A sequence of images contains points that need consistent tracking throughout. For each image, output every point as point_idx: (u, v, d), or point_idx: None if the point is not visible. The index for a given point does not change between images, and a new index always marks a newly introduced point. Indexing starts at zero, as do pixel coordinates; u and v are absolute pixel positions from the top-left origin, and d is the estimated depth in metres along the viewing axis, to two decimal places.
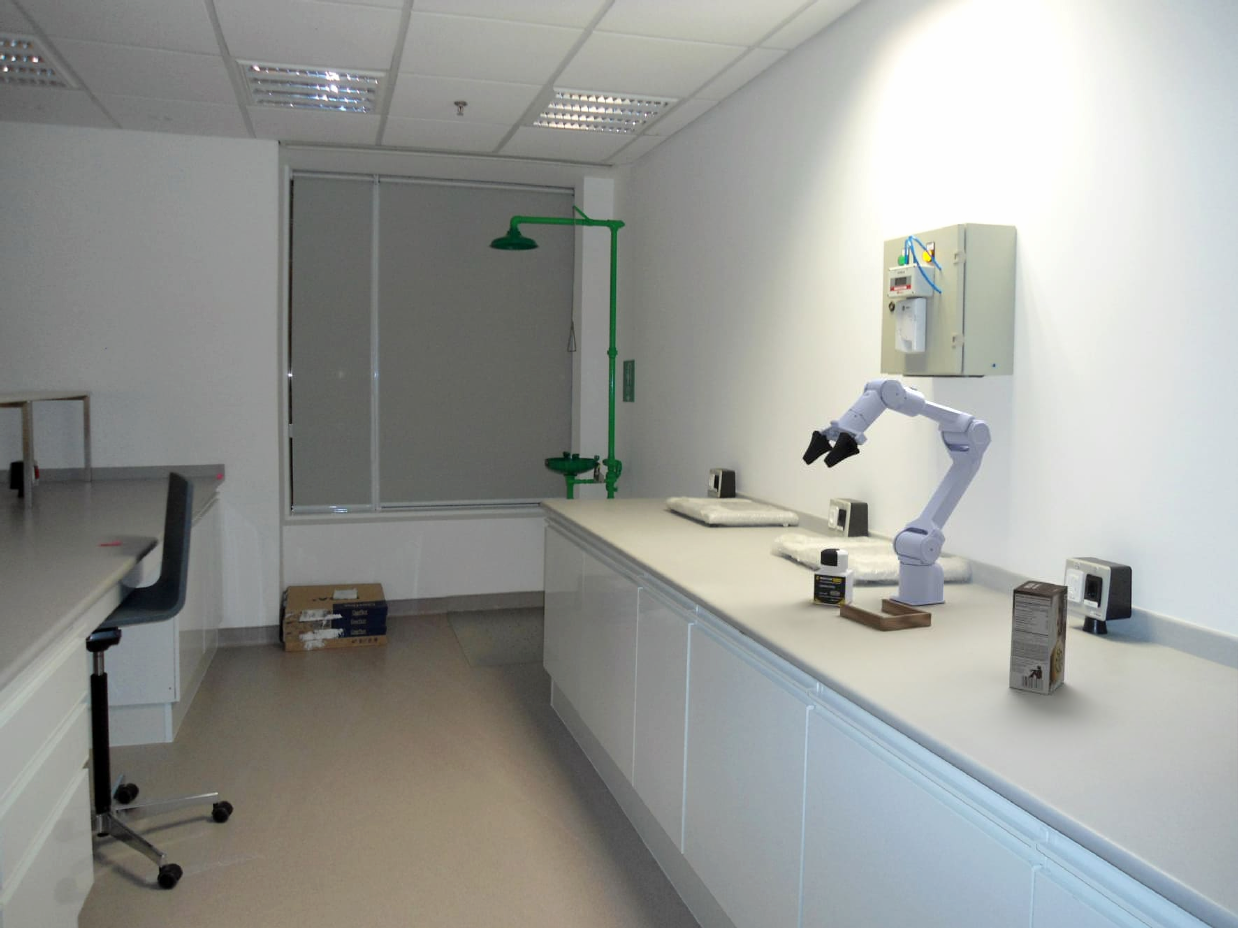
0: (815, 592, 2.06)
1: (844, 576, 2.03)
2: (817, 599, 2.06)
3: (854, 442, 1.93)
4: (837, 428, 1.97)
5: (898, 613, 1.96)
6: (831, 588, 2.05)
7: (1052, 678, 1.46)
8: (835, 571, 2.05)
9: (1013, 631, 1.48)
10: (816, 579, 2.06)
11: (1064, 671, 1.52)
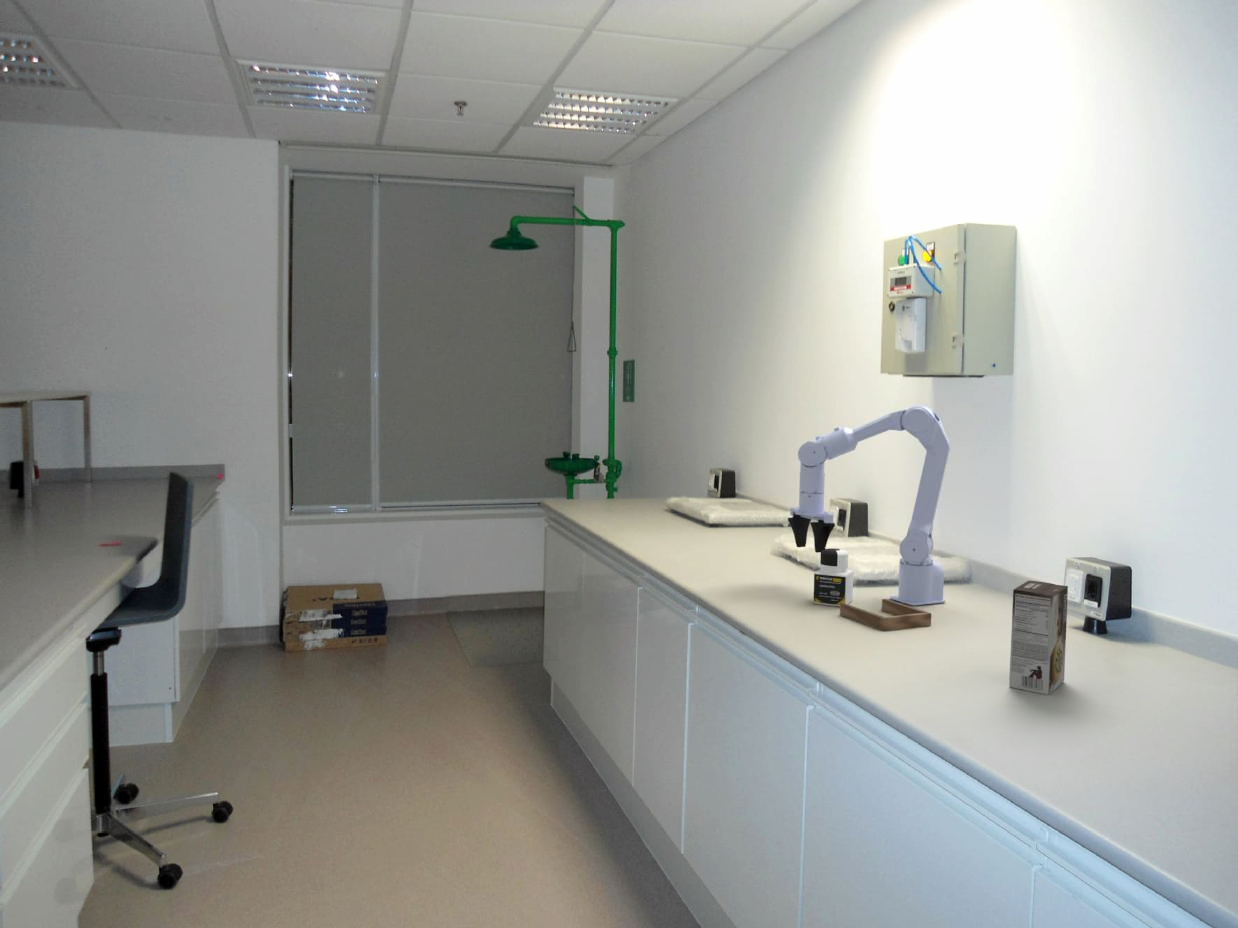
0: (815, 592, 2.06)
1: (844, 576, 2.03)
2: (817, 599, 2.06)
3: (826, 524, 2.13)
4: (804, 515, 2.17)
5: (898, 613, 1.96)
6: (831, 588, 2.05)
7: (1052, 678, 1.46)
8: (835, 571, 2.05)
9: (1013, 631, 1.48)
10: (816, 579, 2.06)
11: (1064, 671, 1.52)
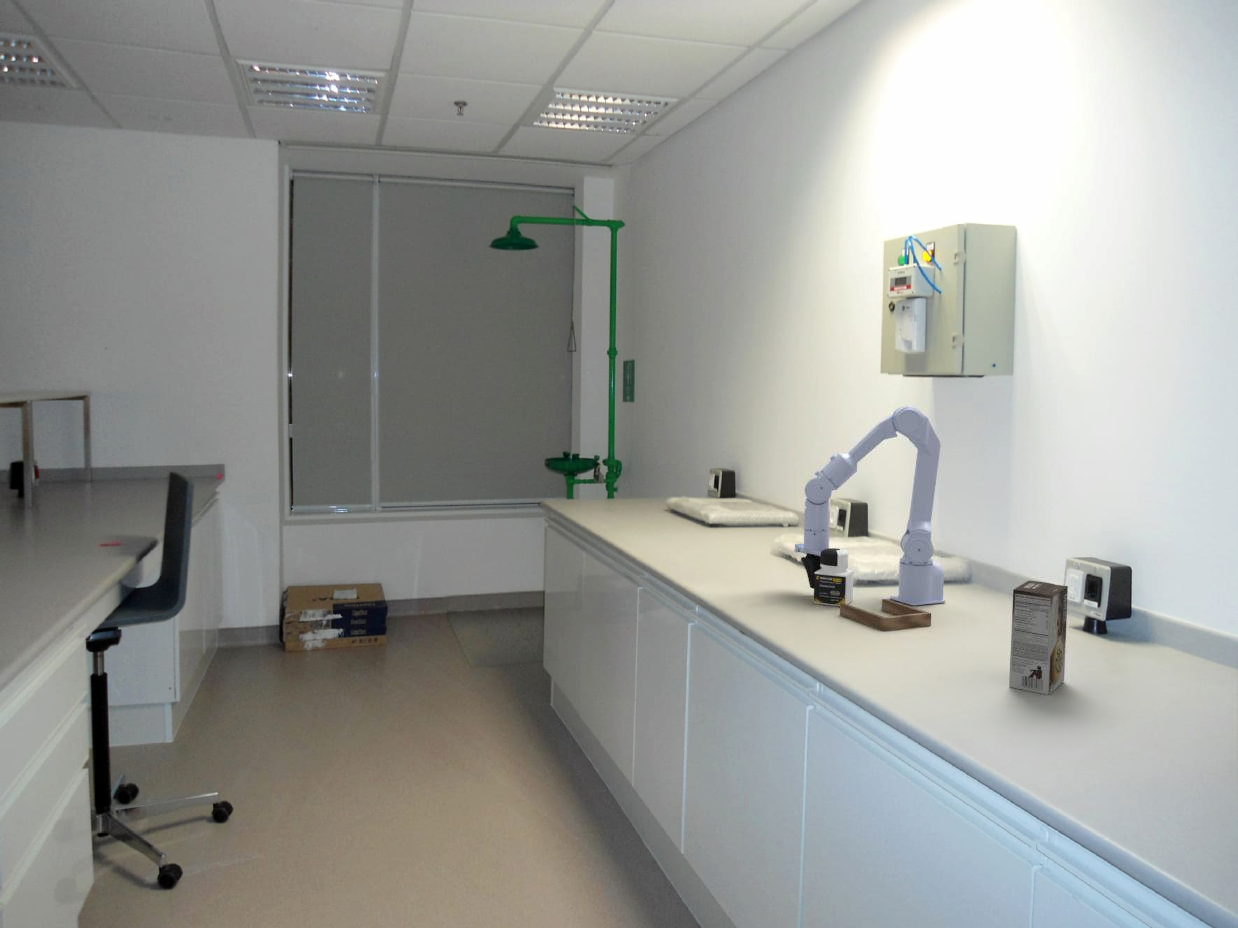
0: (815, 592, 2.06)
1: (844, 576, 2.03)
2: (817, 599, 2.06)
3: None
4: (809, 552, 2.12)
5: (898, 613, 1.96)
6: (831, 588, 2.05)
7: (1052, 678, 1.46)
8: (835, 571, 2.05)
9: (1013, 631, 1.48)
10: (816, 579, 2.06)
11: (1064, 670, 1.52)
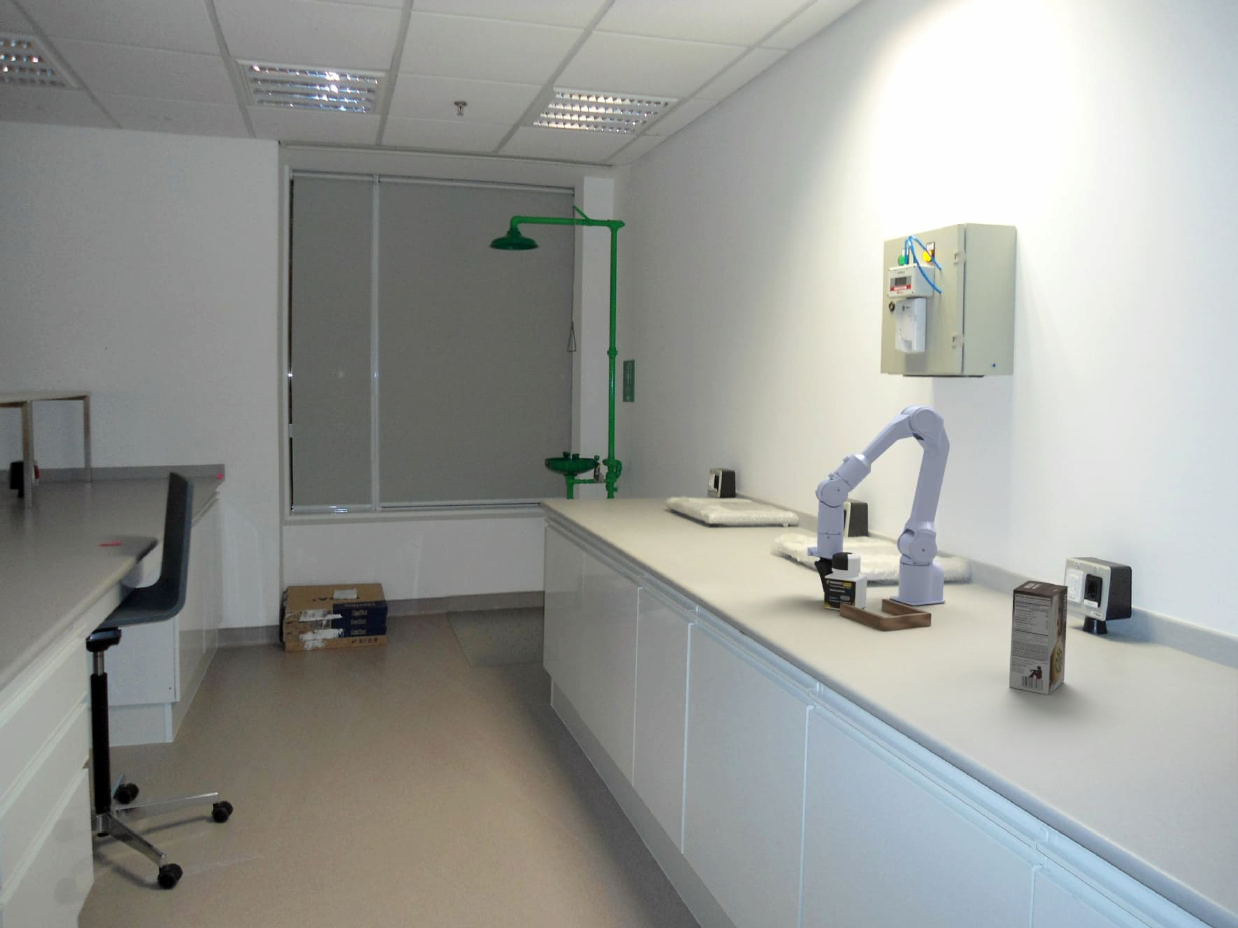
0: (825, 596, 2.02)
1: (854, 581, 1.98)
2: (827, 604, 2.02)
3: None
4: (822, 556, 2.08)
5: (898, 613, 1.96)
6: (841, 593, 2.00)
7: (1052, 678, 1.46)
8: (846, 575, 2.00)
9: (1013, 631, 1.48)
10: (826, 583, 2.02)
11: (1064, 670, 1.52)
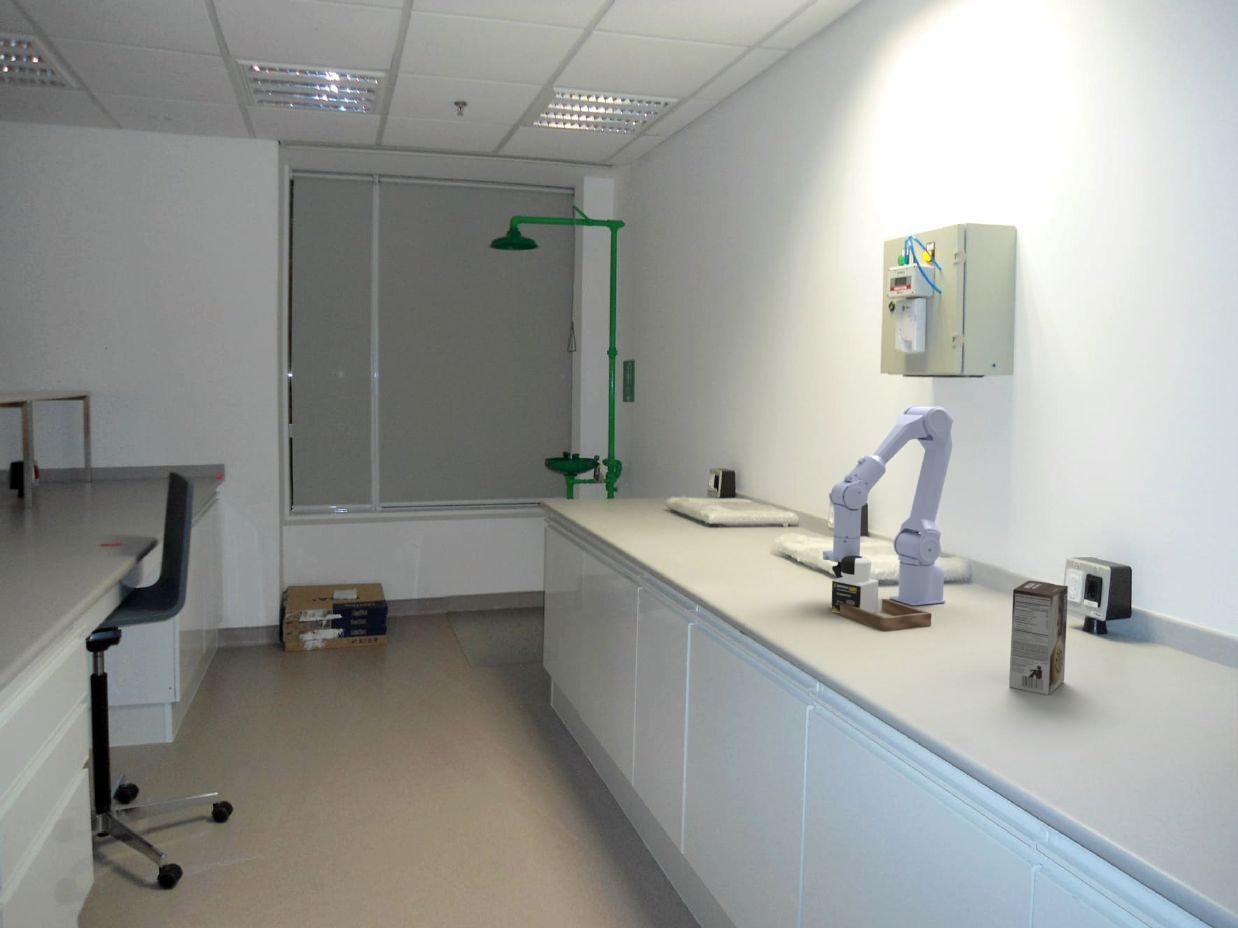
0: (832, 600, 1.99)
1: (859, 585, 1.94)
2: (834, 608, 1.98)
3: None
4: (839, 561, 2.02)
5: (898, 613, 1.96)
6: (847, 597, 1.96)
7: (1052, 678, 1.46)
8: (852, 579, 1.96)
9: (1013, 631, 1.48)
10: (833, 587, 1.98)
11: (1064, 671, 1.52)
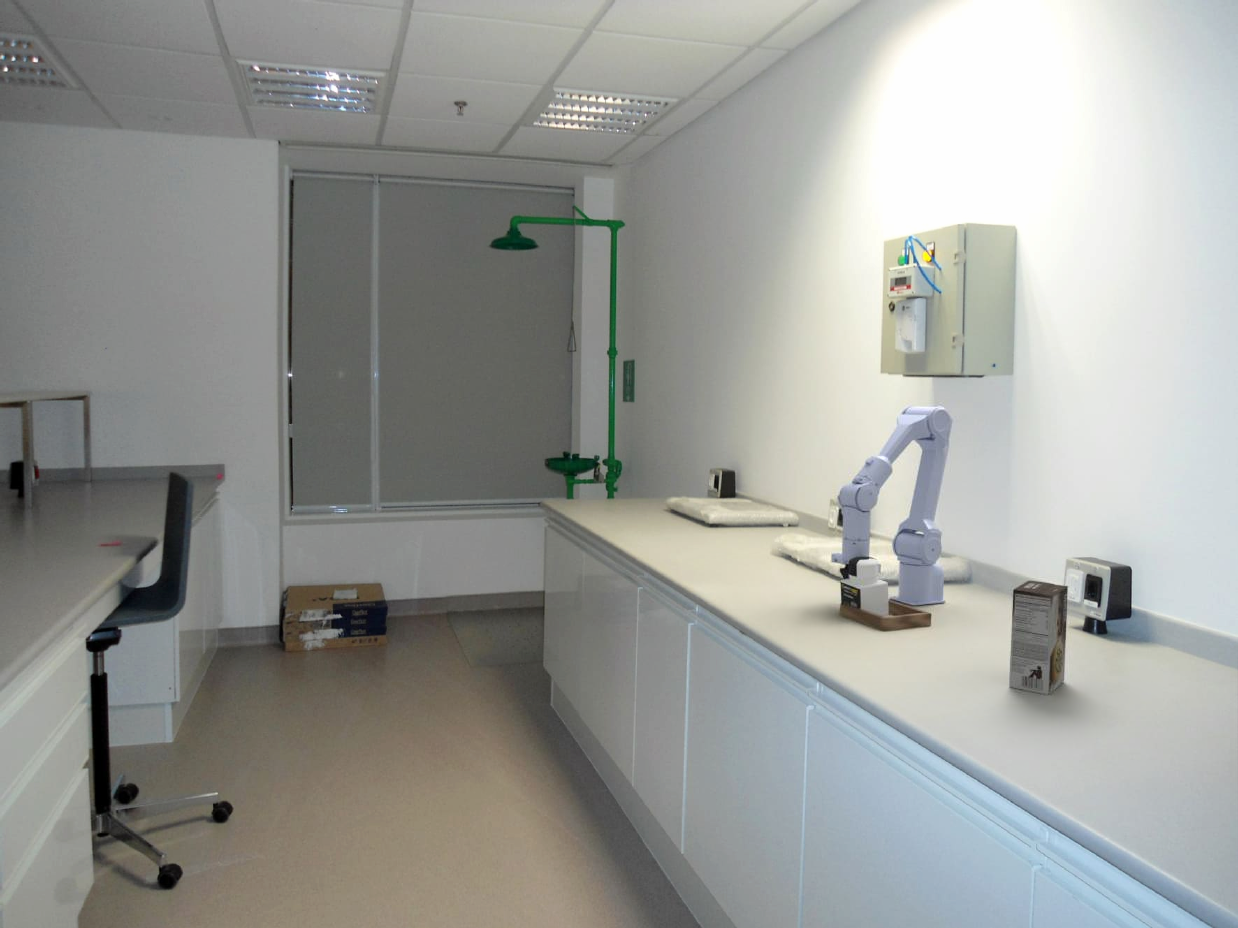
0: (841, 600, 1.98)
1: (859, 588, 1.91)
2: None
3: None
4: (848, 563, 1.99)
5: (898, 613, 1.96)
6: (851, 599, 1.94)
7: (1052, 678, 1.46)
8: (856, 581, 1.94)
9: (1013, 631, 1.48)
10: (841, 587, 1.97)
11: (1064, 670, 1.52)
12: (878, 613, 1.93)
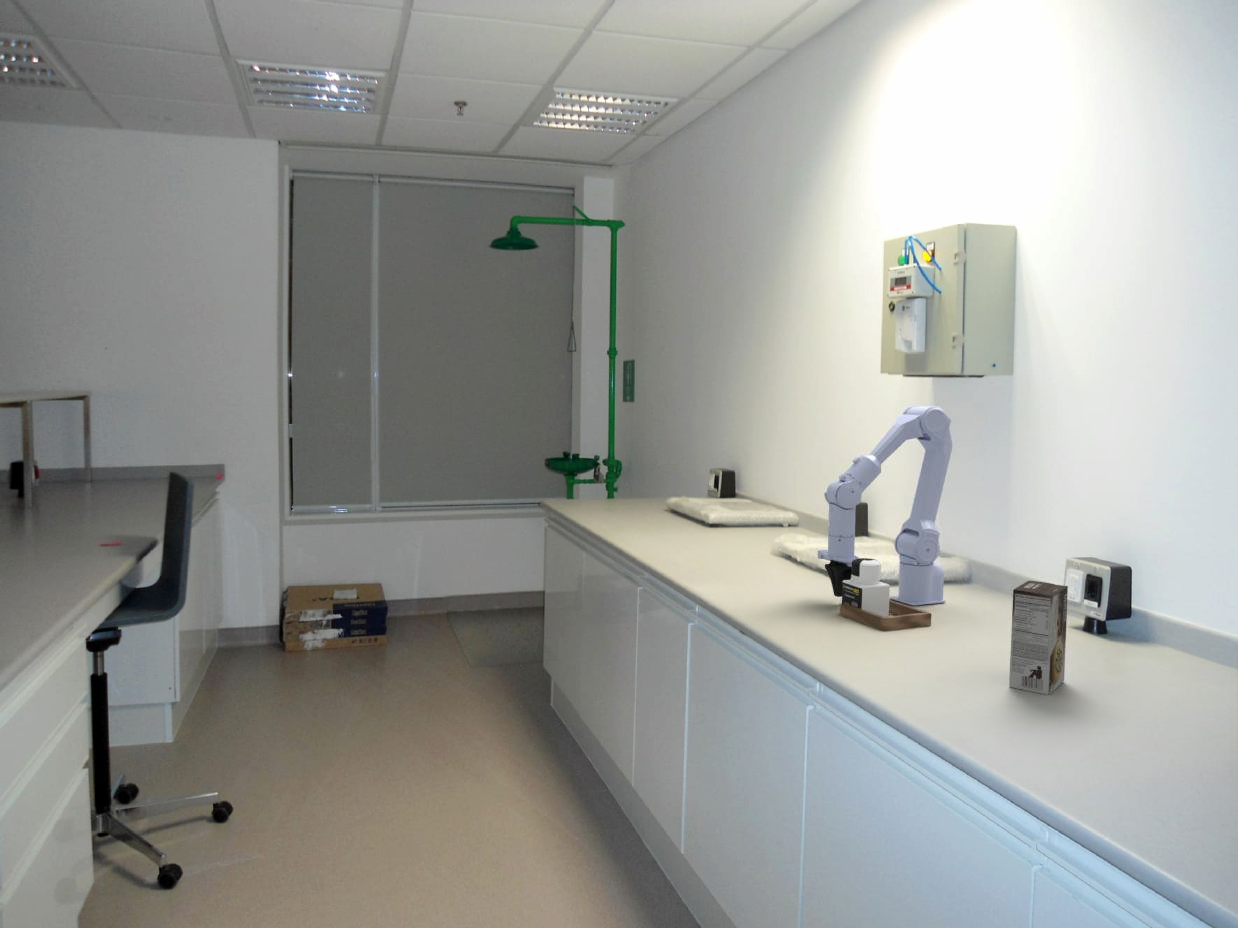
0: (842, 601, 1.98)
1: (861, 587, 1.92)
2: None
3: (847, 567, 2.03)
4: (833, 559, 2.04)
5: (898, 613, 1.96)
6: (852, 599, 1.94)
7: (1052, 678, 1.46)
8: (858, 581, 1.94)
9: (1013, 631, 1.48)
10: (843, 588, 1.97)
11: (1064, 670, 1.52)
12: None
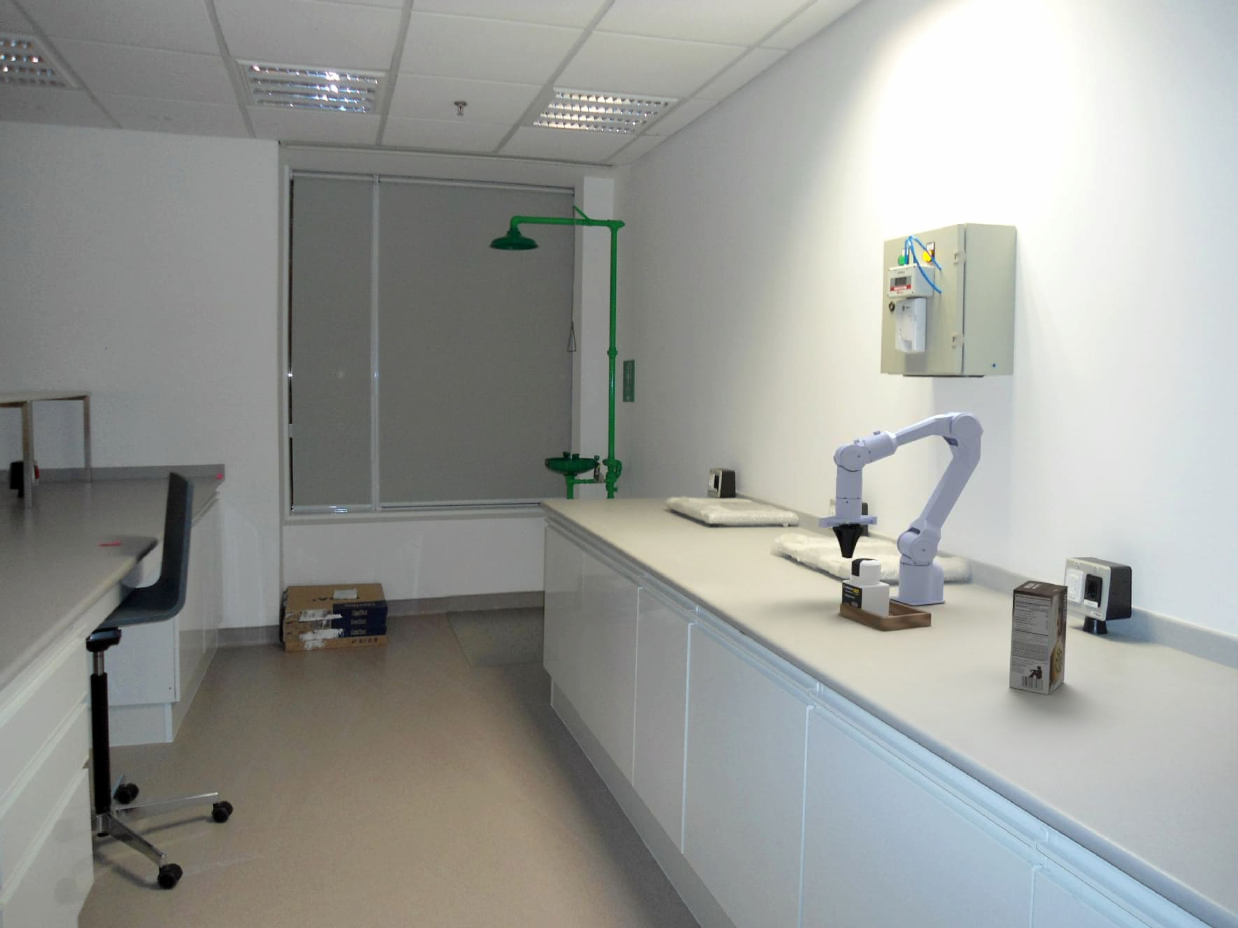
0: (842, 601, 1.98)
1: (861, 587, 1.92)
2: None
3: (837, 527, 2.07)
4: None
5: (898, 613, 1.96)
6: (852, 599, 1.94)
7: (1052, 678, 1.46)
8: (858, 581, 1.94)
9: (1013, 631, 1.48)
10: (843, 588, 1.97)
11: (1064, 670, 1.52)
12: None
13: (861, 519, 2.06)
